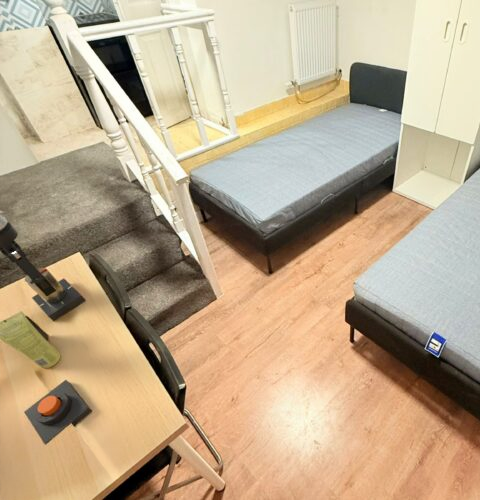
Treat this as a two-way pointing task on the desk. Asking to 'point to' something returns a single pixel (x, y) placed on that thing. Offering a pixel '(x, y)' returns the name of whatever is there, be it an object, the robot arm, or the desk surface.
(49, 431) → the dark grey base plate
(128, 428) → the desk surface
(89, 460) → the desk surface
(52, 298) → the dial
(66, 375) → the desk surface
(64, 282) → the dial panel
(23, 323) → the tube
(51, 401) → the button
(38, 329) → the battery charger
